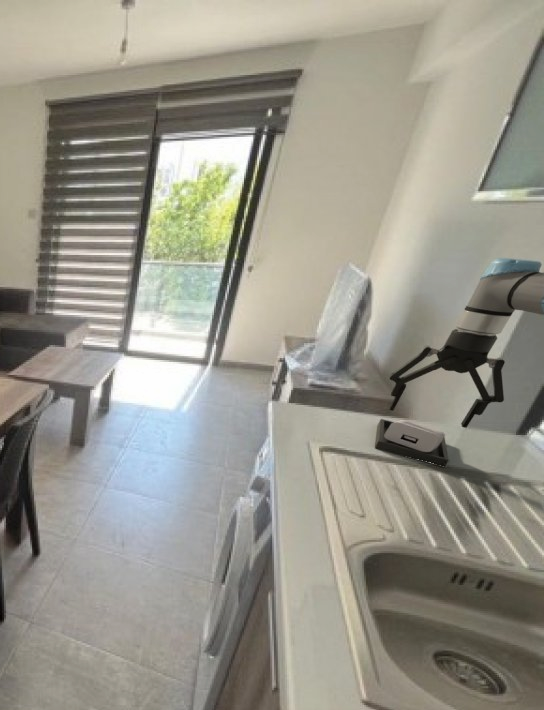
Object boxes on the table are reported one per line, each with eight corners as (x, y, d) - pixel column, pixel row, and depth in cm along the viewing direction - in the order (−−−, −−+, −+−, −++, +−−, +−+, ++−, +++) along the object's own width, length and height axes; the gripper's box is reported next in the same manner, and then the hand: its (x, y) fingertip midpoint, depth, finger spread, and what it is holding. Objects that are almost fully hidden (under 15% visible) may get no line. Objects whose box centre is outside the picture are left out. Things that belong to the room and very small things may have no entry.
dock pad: (439, 441, 125) (444, 434, 125) (444, 467, 113) (448, 460, 112) (377, 425, 133) (380, 418, 132) (374, 448, 120) (378, 441, 119)
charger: (439, 447, 123) (429, 454, 114) (395, 433, 129) (382, 438, 120) (450, 431, 121) (441, 435, 112) (405, 417, 127) (392, 420, 118)
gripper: (552, 340, 104) (494, 428, 114) (404, 318, 118) (364, 398, 128) (560, 347, 99) (499, 438, 109) (405, 323, 113) (362, 406, 123)
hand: (426, 417), depth 118 cm, fingers open, 13 cm apart
